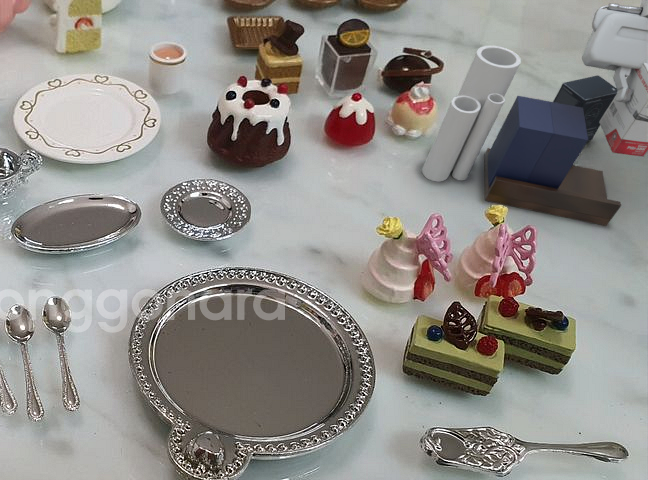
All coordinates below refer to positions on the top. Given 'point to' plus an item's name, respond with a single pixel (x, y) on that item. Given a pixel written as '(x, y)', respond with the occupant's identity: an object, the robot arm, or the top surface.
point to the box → (588, 99)
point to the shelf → (557, 195)
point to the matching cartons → (538, 142)
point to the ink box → (629, 117)
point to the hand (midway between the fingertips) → (645, 105)
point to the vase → (471, 114)
